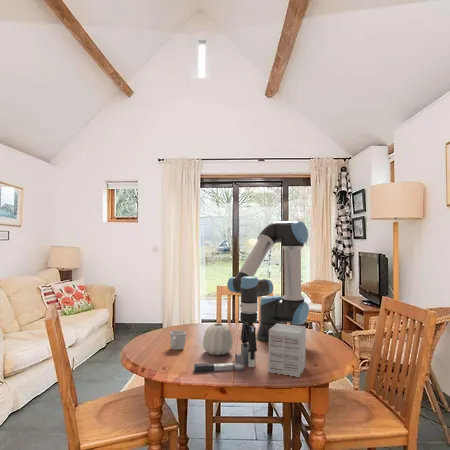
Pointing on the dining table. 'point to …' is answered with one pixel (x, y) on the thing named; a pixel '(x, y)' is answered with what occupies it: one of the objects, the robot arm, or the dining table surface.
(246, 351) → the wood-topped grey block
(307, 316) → the robot arm
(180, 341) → the cup
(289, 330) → the supplement box
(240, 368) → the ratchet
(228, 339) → the vase
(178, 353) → the dining table surface
